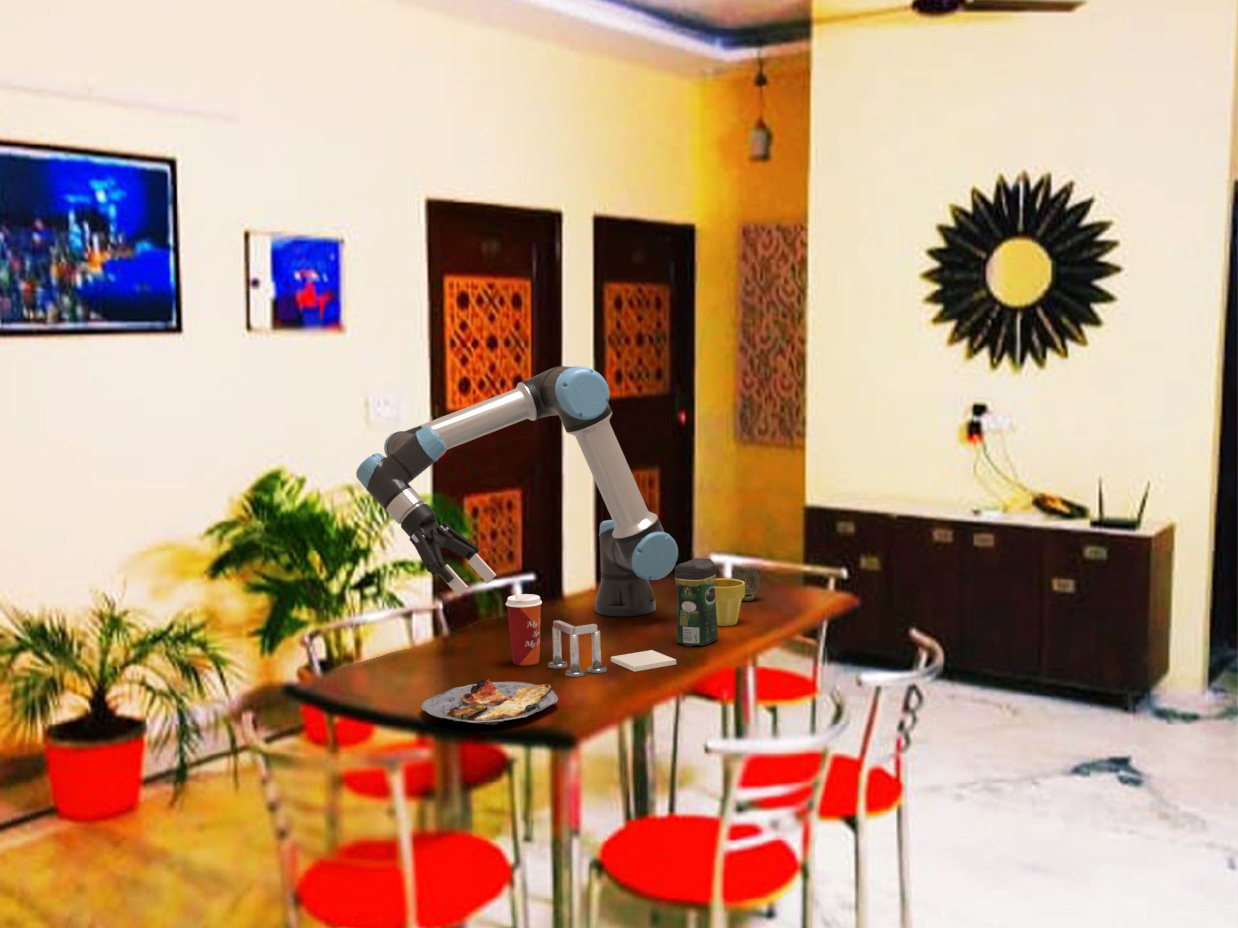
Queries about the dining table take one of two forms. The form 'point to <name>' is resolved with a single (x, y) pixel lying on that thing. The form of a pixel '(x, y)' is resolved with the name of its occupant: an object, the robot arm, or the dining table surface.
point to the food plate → (491, 701)
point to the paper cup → (524, 628)
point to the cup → (748, 581)
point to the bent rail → (575, 648)
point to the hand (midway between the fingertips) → (478, 585)
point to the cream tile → (643, 660)
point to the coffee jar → (696, 602)
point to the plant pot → (728, 600)
